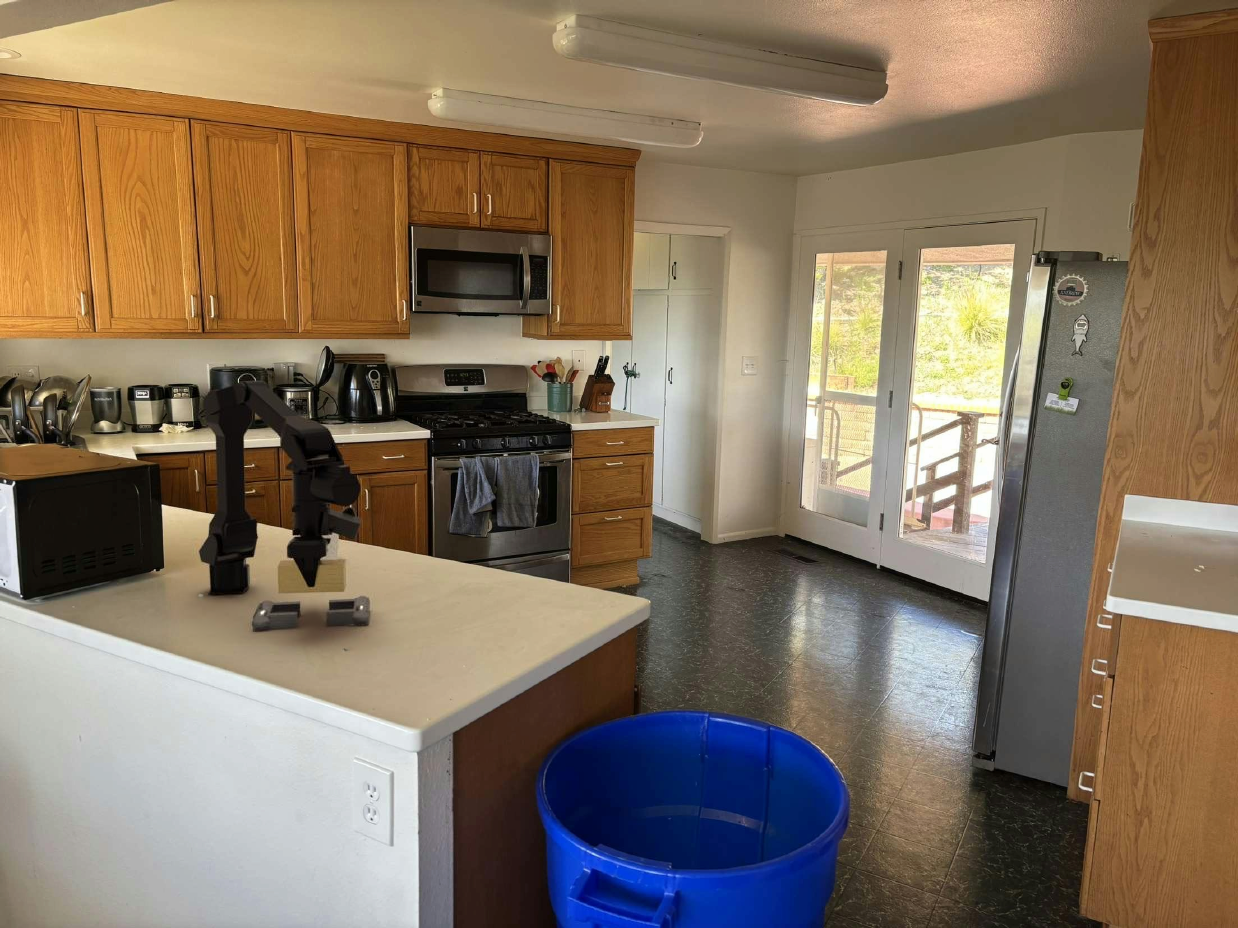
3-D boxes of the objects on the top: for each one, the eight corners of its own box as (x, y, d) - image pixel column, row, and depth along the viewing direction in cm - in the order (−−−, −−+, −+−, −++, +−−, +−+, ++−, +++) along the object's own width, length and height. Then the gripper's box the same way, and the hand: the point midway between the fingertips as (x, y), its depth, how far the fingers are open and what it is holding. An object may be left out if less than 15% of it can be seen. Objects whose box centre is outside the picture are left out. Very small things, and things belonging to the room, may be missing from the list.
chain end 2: (370, 609, 162) (369, 595, 161) (368, 624, 154) (368, 609, 153) (329, 611, 160) (329, 597, 159) (326, 627, 152) (326, 612, 151)
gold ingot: (278, 593, 152) (277, 565, 151) (281, 587, 155) (281, 560, 154) (343, 591, 154) (343, 564, 153) (345, 585, 157) (345, 559, 156)
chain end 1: (252, 631, 149) (251, 615, 148) (259, 615, 157) (258, 600, 156) (296, 628, 151) (295, 613, 150) (301, 613, 159) (300, 598, 158)
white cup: (301, 559, 194) (299, 515, 192) (337, 556, 197) (336, 513, 196) (304, 568, 187) (303, 523, 185) (342, 565, 190) (341, 521, 189)
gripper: (356, 508, 145) (357, 597, 147) (360, 487, 163) (361, 567, 165) (285, 509, 142) (287, 600, 145) (297, 488, 160) (299, 569, 162)
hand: (312, 583), depth 154 cm, fingers closed on gold ingot, 3 cm apart
